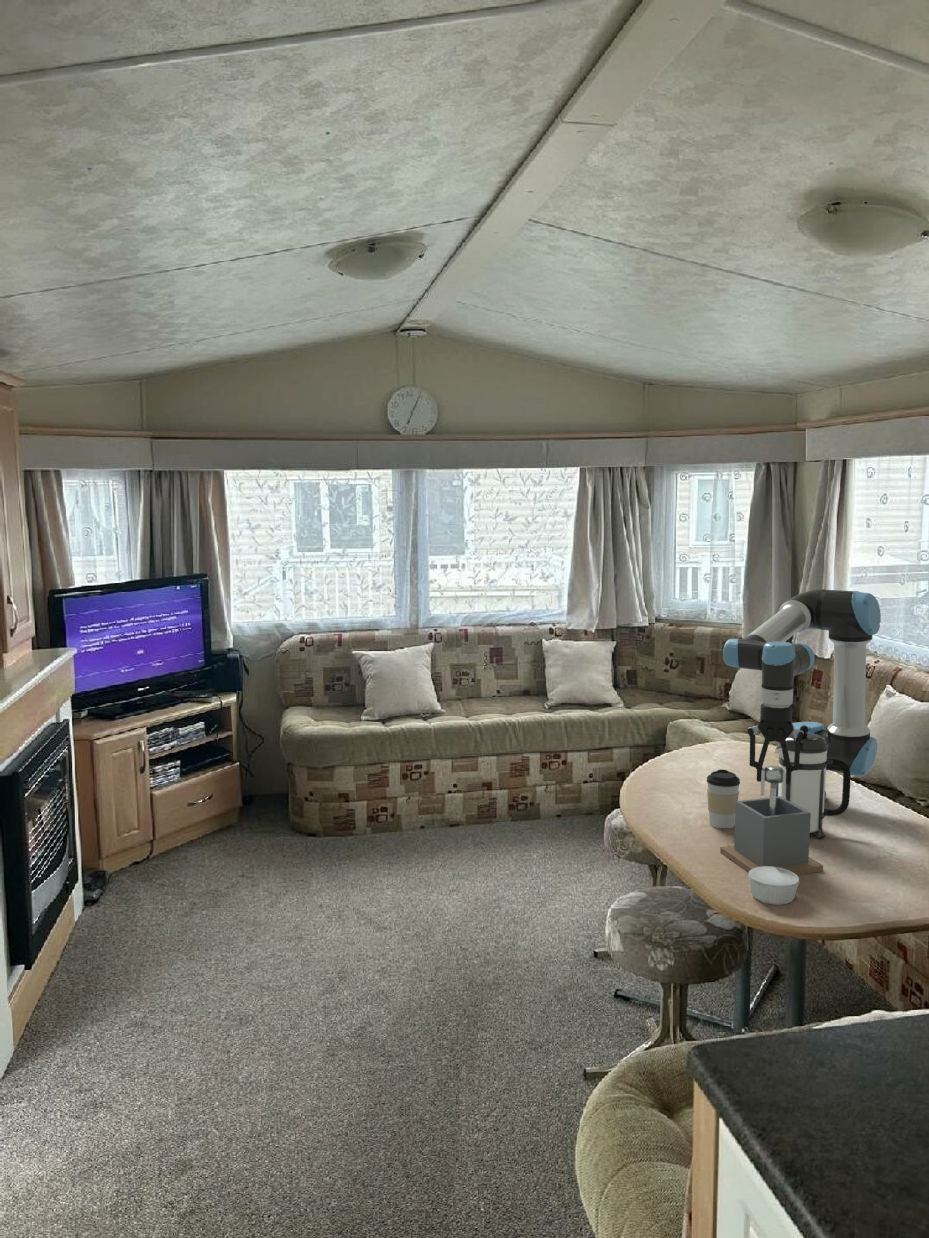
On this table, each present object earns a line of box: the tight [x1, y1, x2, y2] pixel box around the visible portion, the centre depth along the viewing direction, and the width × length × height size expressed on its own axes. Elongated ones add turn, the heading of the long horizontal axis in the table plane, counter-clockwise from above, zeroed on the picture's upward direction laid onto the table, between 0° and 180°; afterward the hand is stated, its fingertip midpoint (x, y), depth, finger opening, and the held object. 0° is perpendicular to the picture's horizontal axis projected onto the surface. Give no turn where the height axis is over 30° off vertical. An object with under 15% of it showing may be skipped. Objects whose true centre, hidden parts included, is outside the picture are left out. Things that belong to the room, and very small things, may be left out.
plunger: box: [764, 765, 783, 816], centre depth 242 cm, size 10×10×22 cm
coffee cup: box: [706, 769, 741, 829], centre depth 270 cm, size 9×9×15 cm
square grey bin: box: [719, 796, 824, 876], centre depth 243 cm, size 18×18×14 cm
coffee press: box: [772, 725, 851, 840], centre depth 263 cm, size 17×16×30 cm
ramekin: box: [747, 866, 800, 906], centre depth 224 cm, size 11×11×5 cm
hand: (773, 794), depth 242 cm, fingers closed on plunger, 4 cm apart
